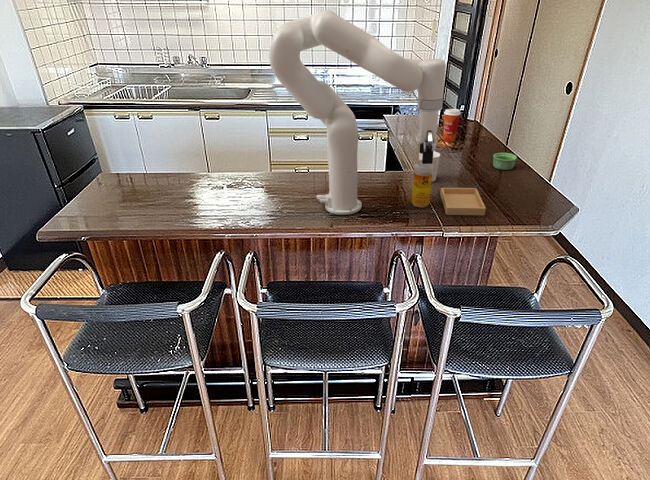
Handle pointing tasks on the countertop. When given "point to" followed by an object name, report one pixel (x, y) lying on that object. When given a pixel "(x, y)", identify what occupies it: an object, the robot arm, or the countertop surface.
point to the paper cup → (451, 124)
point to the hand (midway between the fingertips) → (425, 158)
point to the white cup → (435, 164)
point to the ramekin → (504, 161)
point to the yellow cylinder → (422, 184)
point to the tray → (462, 201)
